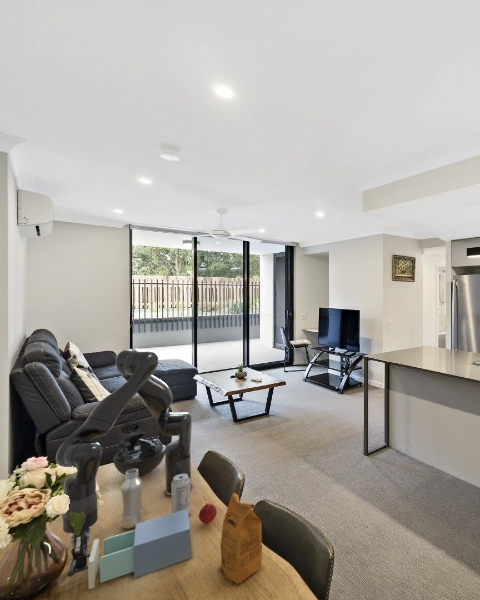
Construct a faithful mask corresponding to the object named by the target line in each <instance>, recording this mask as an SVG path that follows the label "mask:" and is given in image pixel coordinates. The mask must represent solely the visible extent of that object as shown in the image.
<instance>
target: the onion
mask: <svg viewBox="0 0 480 600" xmlns="http://www.w3.org/2000/svg"><path fill="white" fill-rule="evenodd" d="M217 510H218V509H217V507H216V506H215V505H214V504H213V503H210V502H209V501H206V502H205V504H204V505H203V506H202V507H201V509H200V510H199V512H198V519H199V521H200V522H201V523H202V524H206V525H208V524H210V523H211V522H213V521H214V520H215V519H216V517H217V513H218V512H217Z"/></svg>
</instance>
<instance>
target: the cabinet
mask: <svg viewBox="0 0 480 600" xmlns="http://www.w3.org/2000/svg"><path fill="white" fill-rule="evenodd" d="M189 518H190V517H189V514H188V510H187V509H186V510H182V511H179V512H176V513H172V512H171V513H169V514H166V515H162V516H158V517H154V518H151V519H147V520H143V521H142V522H141V523H137V524H136V527H134V530H135V537H134V571H133V578H138V577H142V576H145V575H146V574H149V573H152V572H155V571H158V570H161V569H163V568H167V567H169V566H172V565H175V564H178V563H180V562H182V561H186V560H188V559H191V527H190V525H191V524H190V519H189Z"/></svg>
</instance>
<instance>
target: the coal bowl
mask: <svg viewBox="0 0 480 600" xmlns="http://www.w3.org/2000/svg"><path fill="white" fill-rule="evenodd" d="M148 434H149V433H148V432H143V431H142V432H138V433H137V432H135V433H131V434H129V435H128V436H125V437H123V438H122V439H121V440H120V441H118V443H117V451H116V454H115V455H114V456H113V459H112V461H113V465H114V467H115V469H116V470H117V472H119V473H120V474H122V475H123V476H126V472H127V471H129V470H132V469H138V477H141V476H144V475H147V474H149V473H151V472H152V471H154V470H155V469H156V468H157V467H159V465H161V463H162V462H163V460H164V459H165V448H166V445H164V444H163V443H162V442H161V440H160V438H159V437H156V438H153V439H151V440H150V439H149V440H148V439H143V437H144V436H146V435H148ZM138 443H139V445H137V444H138ZM136 445H137V446H136Z"/></svg>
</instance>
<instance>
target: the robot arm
mask: <svg viewBox="0 0 480 600" xmlns="http://www.w3.org/2000/svg"><path fill="white" fill-rule="evenodd" d="M159 361H160V359H159V355H158V353H157V352H156V351H154V350H146V349H139V348H127V349H123V350H121V351H120V352H119V353H118V354H117V356H116V358H115V368H116V370H117V372H118V374H119V375H120V376H121V377H122V378H123V379H124V380H125V382H124V384H122V385H121V386H119V387H118V388H117V389H116V390H114V391H113V392H111V393H110V394H108V395H107V396H105V397H104V398H102V399H101V400H100V401H99V402H98V403H97V404H96V405H95V406H94V408H93V409H92V411H91V412H90V414H89V415H88V416H87V418H86V420H85V421H84V422H83V424H82V425H81V426H79V428H77V430H75V431H74V432H73V433H72V434H70V436H69V437H67V438H66V439H65V440H64V442H63V443H62V444H61V445H60V446H59V448H58V450H57V451H56V454H55V463H56V464H57V466H59V467H63V468H77V471H76V472H74V473H72V474H70V475H68V476H67V477H66V478H65V480H64V483H63V495H64V494H66V495H68V496H69V499H70V504H69V510H68V511H67V512H66V513H65V514H63V513H62V530H63V532H64V533H65V534H66V533H67V534H72V535H71V537H70V544H71V551H70V553H71V557H72V559H74V560H76V570H77V569H80V568H83V567H86V566H88V557H87V555H88V551H89V545H90V541H91V531H92V527H93V526H94V525H95V524H96V523H97V521H98V495H97V480H96V478H97V474H98V471H99V467H100V465H101V461H102V457H103V448H102V445H101V444H100V443H99V442H97V441H94V440H95V439H97V438H102V437H105V436H106V435H108V434H109V433H110V431H111V430H112V429H113V426H114V425H115V424H116V422H117V420H118V418H119V417H120V415H121V413H122V412H123V411H124V409H125V408H126V406H127V405H128V404H129V403H130V401H131V400H132V399H133V398H134V397H135V396H136V395H138V397H139V398H140V400H141V401H142V403H143V405H144V406H145V408H147V410H148V411H149V413H150V414H151V416H152V417H153V419H154V421H155V423H156V426H157V427H158V430H159V432H160V433H161V434H162V435H163V436H165V437H178V439H177V440H173V441H172V442H170V443H168V444H167V445H165V447H166V448H165V455H164V461H165V463H164V465H165V467H164V469H165V490H164V491H165V496H170V497H172V492H171V483H172V481H173V478H174V477H175V476H176V475H179V474H188V477H189V478H190V489H191V488H192V473H191V472H192V470H191V467H192V466H191V465H192V464H191V463H192V462H191V460H192V459H191V444H192V427H193V426H192V425H193V418H192V415H191V413H190V412H170V411H169V409H170V408H171V406H172V404H173V401H174V396H173V393H172V391H171V390H170V388H169V386H168V385H167V383H165V382H164V381H162V380H161V379H159V378H158V377H156V376H154V375H153V374H154V373H155V372H156V370H157V368H158V365H159ZM72 466H73V467H72ZM81 509H82V510H81ZM71 511H72V512H73V513H75V512H76V513H81V512H82V511H83V512H84V514H85V515H86V519H85V522H84V524H83V526H82V529H81V532H80V535H79V536H77V535H76V534H75V532H74V528H73V526H72V525H71V524H70V512H71Z"/></svg>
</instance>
